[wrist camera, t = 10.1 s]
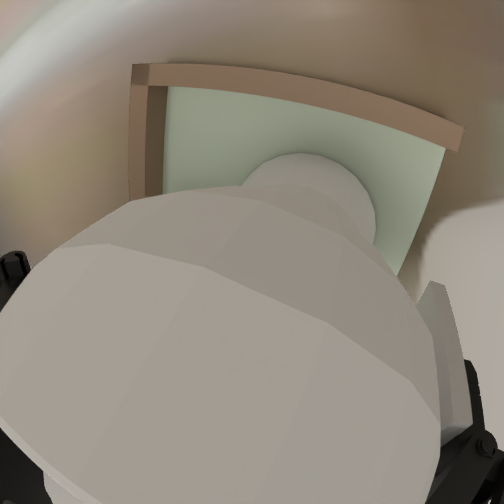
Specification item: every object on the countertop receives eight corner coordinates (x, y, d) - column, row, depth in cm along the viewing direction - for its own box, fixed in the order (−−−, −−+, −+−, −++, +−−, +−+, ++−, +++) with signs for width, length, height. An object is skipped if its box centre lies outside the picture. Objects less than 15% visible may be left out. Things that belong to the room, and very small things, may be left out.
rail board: (165, 340, 28) (149, 361, 26) (164, 64, 15) (132, 64, 13) (323, 396, 25) (316, 423, 23) (446, 120, 12) (464, 127, 9)
